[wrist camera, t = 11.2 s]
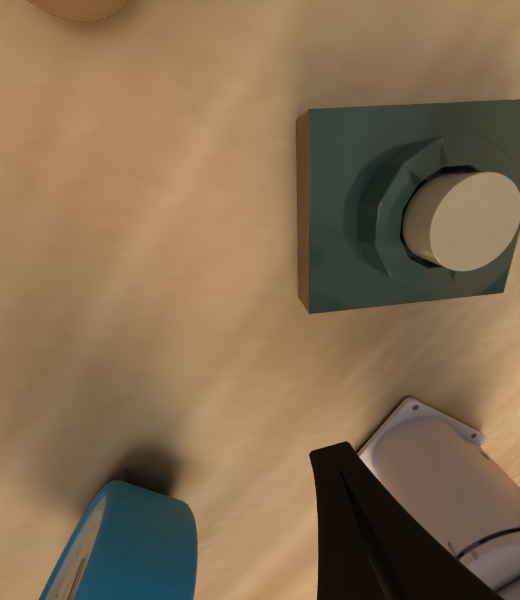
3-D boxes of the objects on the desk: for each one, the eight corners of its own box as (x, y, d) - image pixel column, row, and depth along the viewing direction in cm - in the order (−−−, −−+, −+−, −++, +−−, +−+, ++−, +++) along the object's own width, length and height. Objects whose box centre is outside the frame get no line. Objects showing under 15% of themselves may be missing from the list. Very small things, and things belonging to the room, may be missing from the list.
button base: (508, 108, 17) (604, 85, 12) (471, 280, 20) (535, 305, 16) (296, 119, 16) (323, 97, 11) (298, 298, 19) (320, 330, 15)
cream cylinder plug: (490, 170, 14) (534, 168, 12) (472, 256, 15) (508, 267, 13) (407, 175, 13) (438, 175, 11) (397, 263, 15) (423, 275, 13)
